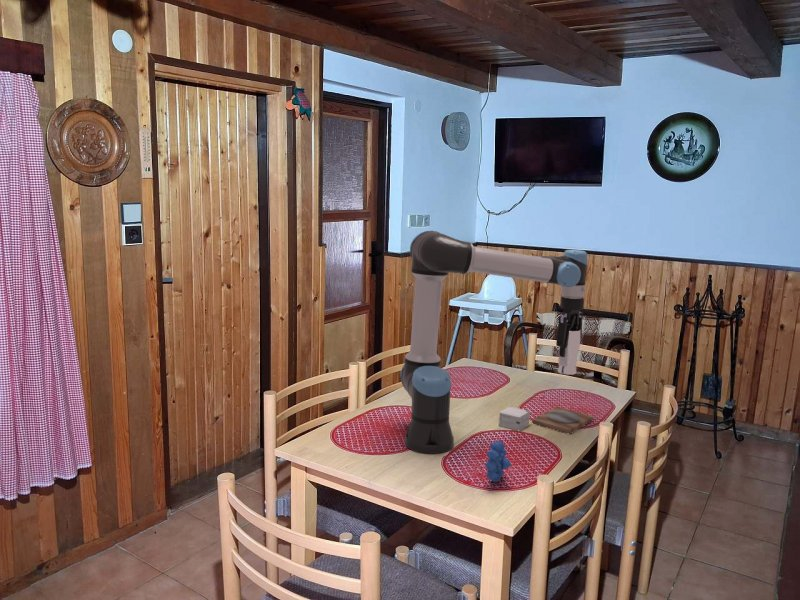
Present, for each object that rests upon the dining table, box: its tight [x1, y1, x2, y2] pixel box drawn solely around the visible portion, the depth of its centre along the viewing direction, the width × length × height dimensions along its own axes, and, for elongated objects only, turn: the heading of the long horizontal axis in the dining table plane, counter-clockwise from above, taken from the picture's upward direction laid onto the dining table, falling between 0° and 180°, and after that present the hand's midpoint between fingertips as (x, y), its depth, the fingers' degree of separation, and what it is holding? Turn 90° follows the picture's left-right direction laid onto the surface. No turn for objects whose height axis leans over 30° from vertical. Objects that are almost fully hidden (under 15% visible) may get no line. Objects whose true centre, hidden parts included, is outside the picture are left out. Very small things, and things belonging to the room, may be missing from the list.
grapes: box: [484, 440, 512, 483], centre depth 178 cm, size 12×7×12 cm, turn 153°
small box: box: [498, 406, 531, 432], centre depth 222 cm, size 8×8×5 cm
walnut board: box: [531, 406, 595, 435], centre depth 227 cm, size 18×14×2 cm
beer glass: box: [557, 328, 581, 376], centre depth 223 cm, size 7×7×15 cm
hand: (567, 363), depth 224 cm, fingers closed on beer glass, 7 cm apart
